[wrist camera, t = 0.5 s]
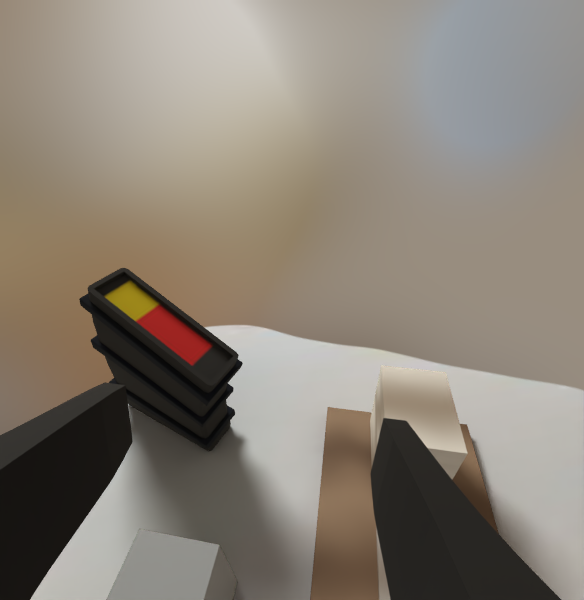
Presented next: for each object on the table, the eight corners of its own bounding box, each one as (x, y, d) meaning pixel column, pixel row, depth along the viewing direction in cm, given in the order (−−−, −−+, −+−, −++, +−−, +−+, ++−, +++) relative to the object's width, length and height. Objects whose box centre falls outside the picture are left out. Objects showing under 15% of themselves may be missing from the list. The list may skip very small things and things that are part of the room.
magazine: (127, 358, 34) (124, 261, 24) (224, 435, 33) (267, 370, 22) (96, 383, 32) (76, 287, 21) (199, 468, 30) (234, 413, 20)
